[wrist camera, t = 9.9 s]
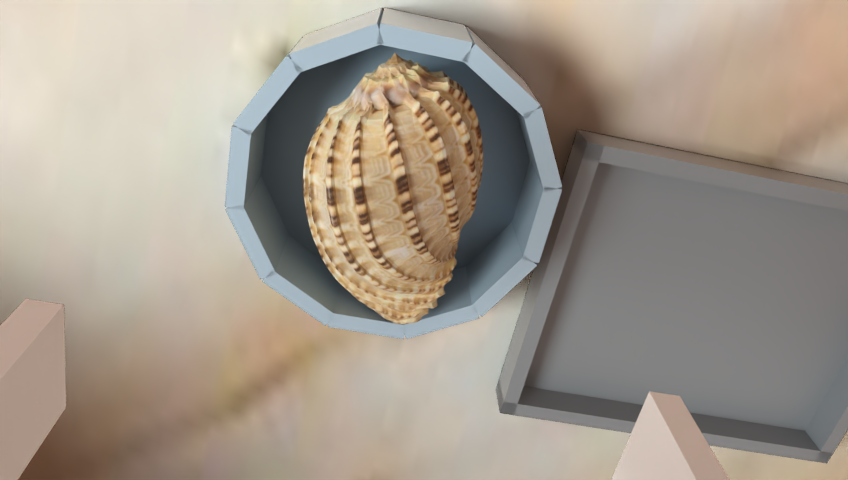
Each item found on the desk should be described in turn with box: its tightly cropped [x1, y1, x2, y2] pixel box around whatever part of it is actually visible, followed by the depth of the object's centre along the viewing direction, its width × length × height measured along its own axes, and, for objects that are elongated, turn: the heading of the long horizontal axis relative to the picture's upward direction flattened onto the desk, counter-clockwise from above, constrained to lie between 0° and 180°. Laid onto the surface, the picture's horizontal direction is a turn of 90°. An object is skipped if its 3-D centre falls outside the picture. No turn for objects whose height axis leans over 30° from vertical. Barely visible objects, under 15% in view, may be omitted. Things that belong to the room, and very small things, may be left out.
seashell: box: [303, 53, 483, 324], centre depth 26 cm, size 8×6×10 cm
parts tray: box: [496, 130, 848, 463], centre depth 32 cm, size 17×14×2 cm
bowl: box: [225, 8, 562, 339], centre depth 28 cm, size 12×12×4 cm
